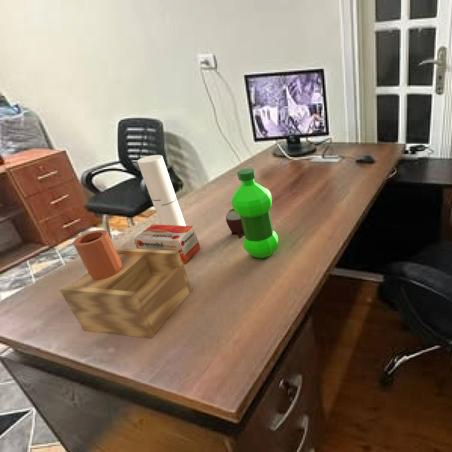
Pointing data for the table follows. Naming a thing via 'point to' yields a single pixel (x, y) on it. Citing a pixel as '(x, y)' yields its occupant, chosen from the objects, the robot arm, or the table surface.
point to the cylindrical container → (161, 190)
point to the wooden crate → (131, 294)
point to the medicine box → (169, 240)
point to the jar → (98, 254)
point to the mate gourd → (234, 222)
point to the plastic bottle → (255, 215)
